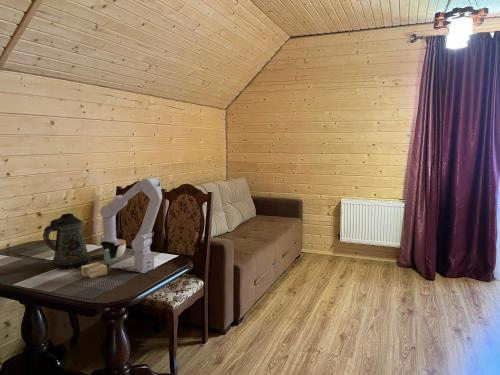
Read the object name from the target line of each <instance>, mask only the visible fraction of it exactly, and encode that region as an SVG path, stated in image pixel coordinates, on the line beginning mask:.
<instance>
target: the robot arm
mask: <svg viewBox="0 0 500 375" xmlns="http://www.w3.org/2000/svg"><path fill="white" fill-rule="evenodd" d="M138 193H143V194H144V195H146V196H147V198H148V199H149V201H148V205H147V207H146V210H145V214H144V217H143V219H142V221H141V222H142V223H141V226H140V229H139V231H138V232H137V234H136V235H135V237H134V239H133V240H132V241H131V248H132V249H133V253H134V255H133V256H134V257H133V258H134V265H131V266H130V268H131V269H133V270H135V271H138V272H140V273H144V272H148V271H150V270H151V271H152V270H155V269H157V268H156V266H155V256H154V253H152V251H151V245H152V243H153V238H152V237H153V228H154V225H155V222H156V219H157V215H158V213H159V210H160V207H161V204H162V200H163V194H162V183H161V182H160V180H159V178H157V177H156V176H150V177H147V178H142V179H141V180H140V181H138V182H136V183H135V184H134V185H133V186H132V187H131V188H129V189H128V190H127V191H126V192H124V194H119V195H115V196H114V199H112V200H110V201H108V202H107V204H106V205H103V206H102V207H101V208H100V211H99V213H100V216H101V217H102V227H103V228H102V230H103V232H102V233H103V235H101V236H100V241H101V242H100V245H101V246H102V248H103V251H104V250H105V249H109V251H110V257H111V259H112V258H115V257H116V253H117V249H118V247H119V246H120V244H119V241H118V239H119V238H117V229H116V228H117V226H116V225H117V224H116V216H117V214H118V212H119V211H121V210H122V209H124V207H126V206H127V205H128V201H129V200H130V199H131V198H133V197H134V196H136V195H138Z"/></svg>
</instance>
